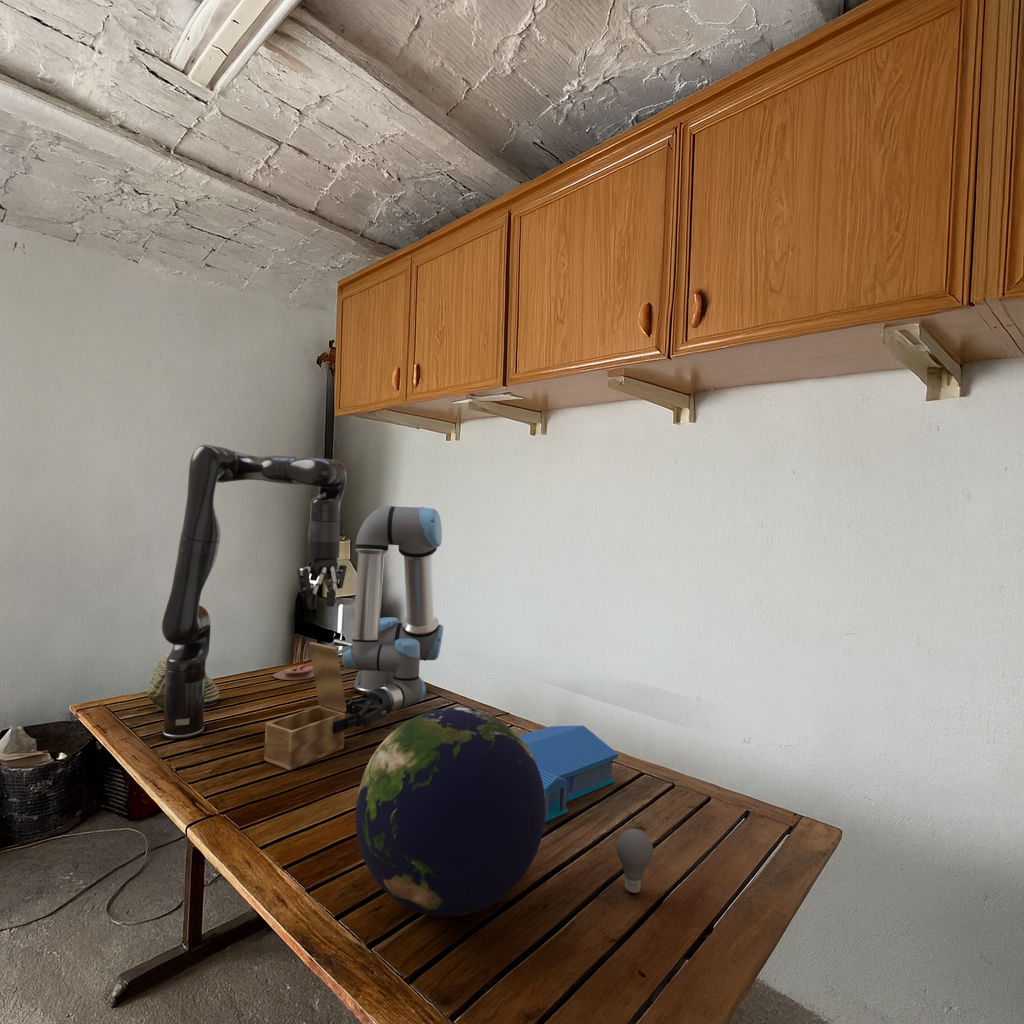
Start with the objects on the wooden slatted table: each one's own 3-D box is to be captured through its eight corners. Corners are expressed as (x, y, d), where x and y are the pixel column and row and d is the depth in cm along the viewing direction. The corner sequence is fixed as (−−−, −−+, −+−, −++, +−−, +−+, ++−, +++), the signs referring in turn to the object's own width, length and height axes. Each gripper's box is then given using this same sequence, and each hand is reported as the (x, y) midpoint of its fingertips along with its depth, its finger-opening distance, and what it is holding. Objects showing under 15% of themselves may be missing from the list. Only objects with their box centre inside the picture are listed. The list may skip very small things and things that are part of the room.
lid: (334, 649, 155) (358, 636, 162) (308, 643, 160) (332, 630, 167) (344, 712, 159) (367, 697, 166) (318, 704, 164) (341, 690, 171)
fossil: (144, 707, 182) (145, 655, 182) (212, 696, 194) (213, 647, 194) (151, 716, 175) (153, 662, 175) (221, 703, 188) (223, 653, 188)
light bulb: (610, 879, 108) (613, 822, 108) (644, 879, 109) (647, 822, 109) (619, 902, 102) (622, 840, 102) (655, 901, 103) (658, 840, 103)
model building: (497, 843, 118) (499, 790, 118) (422, 794, 136) (424, 748, 136) (626, 786, 145) (628, 743, 144) (549, 751, 163) (551, 713, 163)
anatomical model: (267, 666, 215) (286, 658, 227) (267, 678, 215) (286, 669, 227) (303, 670, 213) (320, 662, 224) (303, 682, 213) (320, 673, 224)
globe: (309, 928, 93) (317, 725, 93) (415, 832, 121) (421, 676, 120) (495, 996, 82) (506, 766, 81) (565, 873, 110) (572, 701, 109)
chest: (290, 770, 146) (291, 732, 145) (264, 760, 150) (265, 723, 150) (343, 748, 160) (345, 713, 160) (318, 739, 165) (319, 705, 164)
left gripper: (311, 541, 149) (308, 613, 149) (356, 539, 161) (353, 606, 161) (290, 539, 153) (287, 609, 153) (335, 537, 165) (332, 602, 165)
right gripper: (412, 723, 172) (351, 748, 153) (353, 706, 184) (290, 728, 164) (413, 695, 172) (352, 718, 153) (354, 680, 183) (291, 699, 164)
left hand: (321, 607), depth 157 cm, fingers open, 5 cm apart
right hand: (320, 723), depth 159 cm, fingers closed on chest, 9 cm apart
